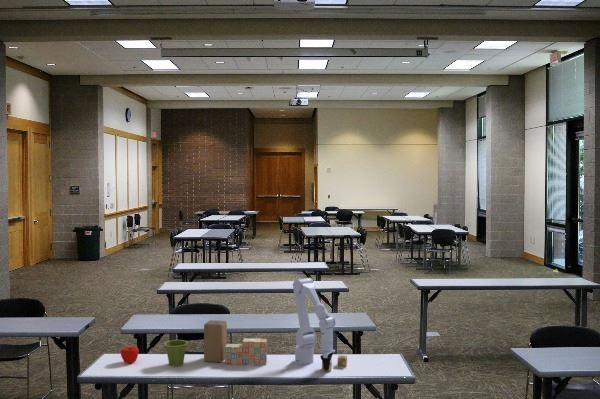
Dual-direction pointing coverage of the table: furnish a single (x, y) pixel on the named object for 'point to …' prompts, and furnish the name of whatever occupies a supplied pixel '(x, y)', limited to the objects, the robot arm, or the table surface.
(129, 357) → the apple
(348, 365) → the board
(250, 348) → the stack of blocks
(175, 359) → the plant pot
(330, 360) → the maple block
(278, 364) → the table surface
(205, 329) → the block
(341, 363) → the oak block
